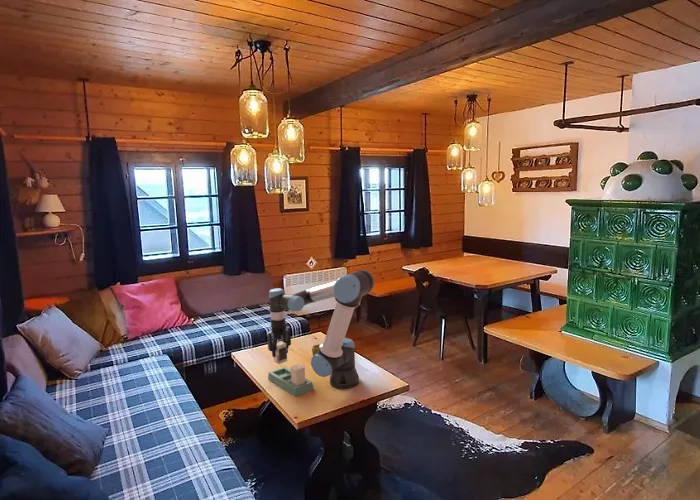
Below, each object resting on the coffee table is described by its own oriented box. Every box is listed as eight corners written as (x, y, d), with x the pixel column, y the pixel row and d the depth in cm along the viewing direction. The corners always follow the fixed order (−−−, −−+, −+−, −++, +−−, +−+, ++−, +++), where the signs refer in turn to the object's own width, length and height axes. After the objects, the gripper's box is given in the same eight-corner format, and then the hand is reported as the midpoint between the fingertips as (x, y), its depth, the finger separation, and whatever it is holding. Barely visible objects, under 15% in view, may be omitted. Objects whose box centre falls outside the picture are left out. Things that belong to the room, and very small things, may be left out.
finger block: (287, 361, 229) (286, 343, 227) (279, 364, 226) (278, 346, 224) (282, 358, 233) (281, 340, 232) (274, 361, 230) (272, 343, 229)
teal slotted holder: (313, 389, 219) (312, 366, 217) (295, 396, 212) (293, 373, 210) (286, 373, 239) (284, 352, 237) (268, 379, 232) (266, 358, 230)
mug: (328, 360, 248) (323, 343, 250) (312, 365, 251) (307, 348, 252) (334, 356, 260) (329, 339, 261) (319, 360, 263) (314, 344, 264)
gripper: (288, 312, 235) (291, 353, 238) (258, 320, 223) (261, 363, 227) (296, 316, 229) (298, 357, 233) (266, 324, 217) (269, 368, 221)
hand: (280, 360), depth 230 cm, fingers closed on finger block, 5 cm apart
